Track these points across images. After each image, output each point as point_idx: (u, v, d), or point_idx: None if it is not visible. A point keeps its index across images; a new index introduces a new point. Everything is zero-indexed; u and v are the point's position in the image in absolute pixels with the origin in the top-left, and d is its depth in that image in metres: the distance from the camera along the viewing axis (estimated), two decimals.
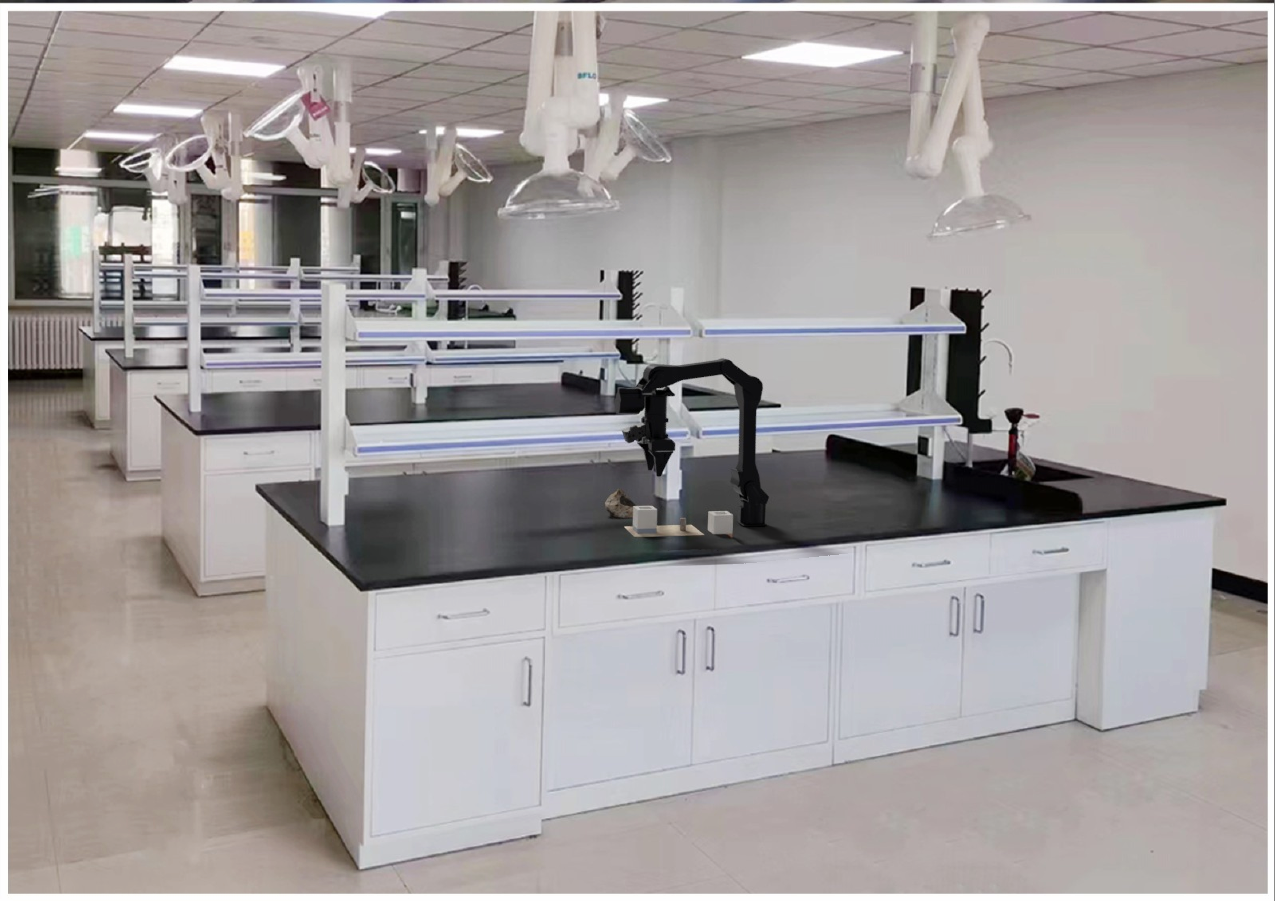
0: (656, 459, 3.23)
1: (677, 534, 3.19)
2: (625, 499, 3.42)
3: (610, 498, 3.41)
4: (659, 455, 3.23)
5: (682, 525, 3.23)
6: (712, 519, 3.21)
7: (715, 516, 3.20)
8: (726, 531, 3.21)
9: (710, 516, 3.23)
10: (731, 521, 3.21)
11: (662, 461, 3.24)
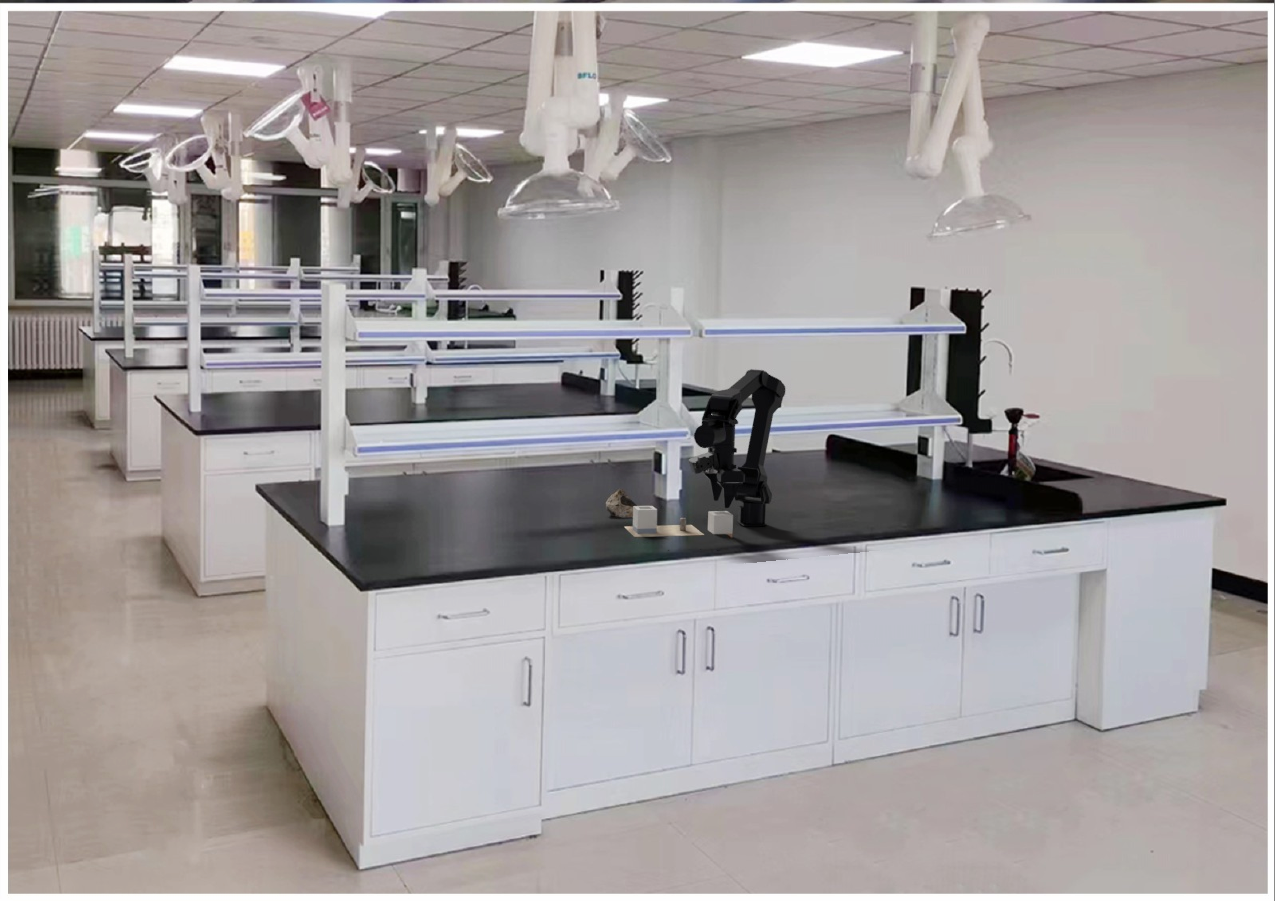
0: (725, 490, 3.15)
1: (677, 534, 3.19)
2: (626, 499, 3.42)
3: (611, 498, 3.41)
4: (728, 486, 3.16)
5: (682, 525, 3.23)
6: (712, 519, 3.21)
7: (715, 516, 3.20)
8: (726, 531, 3.21)
9: (710, 516, 3.23)
10: (731, 521, 3.21)
11: (731, 492, 3.16)
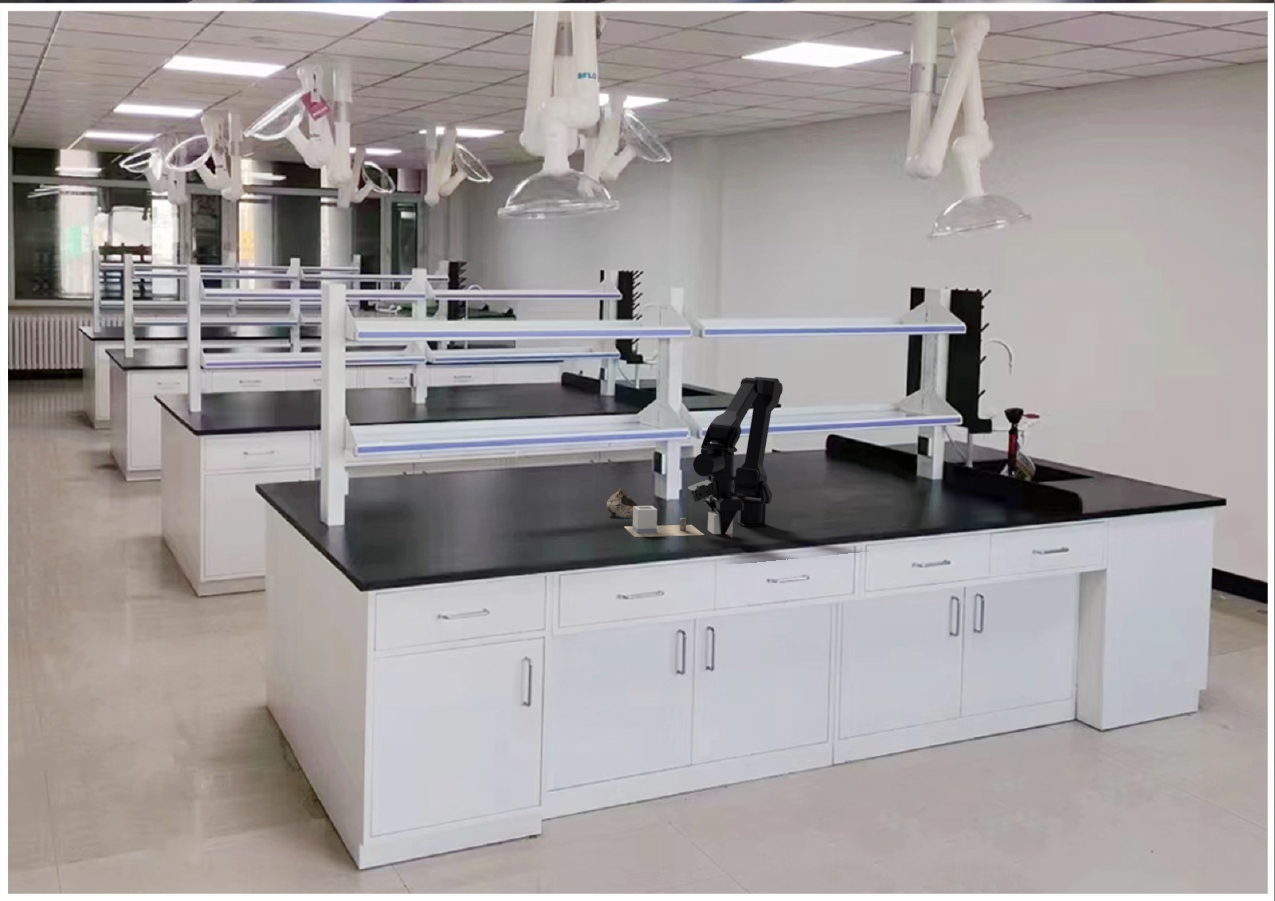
0: (721, 517, 3.18)
1: (677, 534, 3.19)
2: (627, 499, 3.42)
3: (612, 498, 3.41)
4: (724, 513, 3.19)
5: (682, 525, 3.23)
6: (712, 519, 3.21)
7: (715, 516, 3.20)
8: None
9: (710, 516, 3.23)
10: None
11: (727, 519, 3.19)
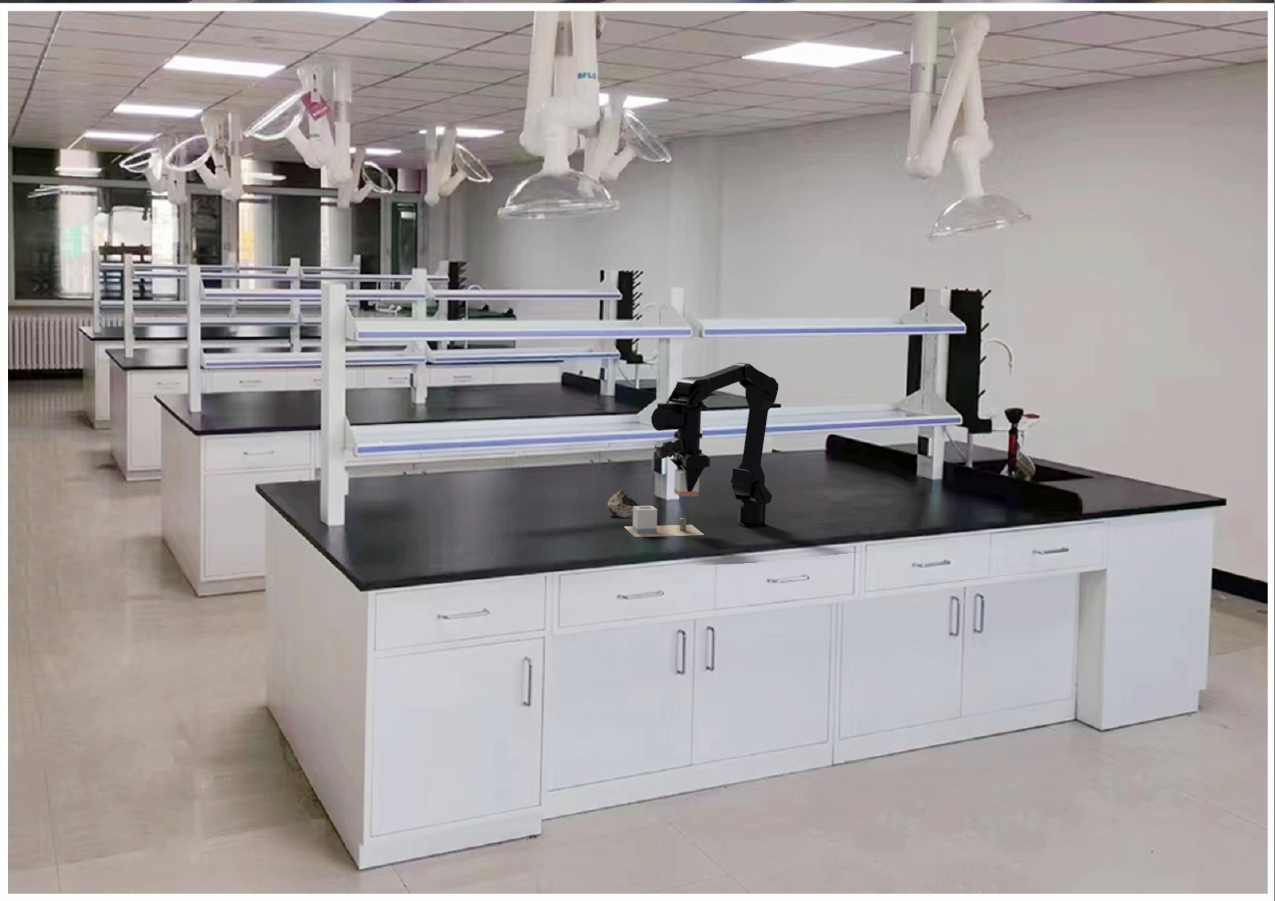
0: (688, 474, 3.17)
1: (677, 534, 3.19)
2: (628, 498, 3.42)
3: (613, 498, 3.42)
4: (691, 470, 3.18)
5: (682, 525, 3.23)
6: (678, 477, 3.20)
7: (681, 473, 3.19)
8: None
9: (677, 473, 3.21)
10: (698, 479, 3.20)
11: (693, 476, 3.18)
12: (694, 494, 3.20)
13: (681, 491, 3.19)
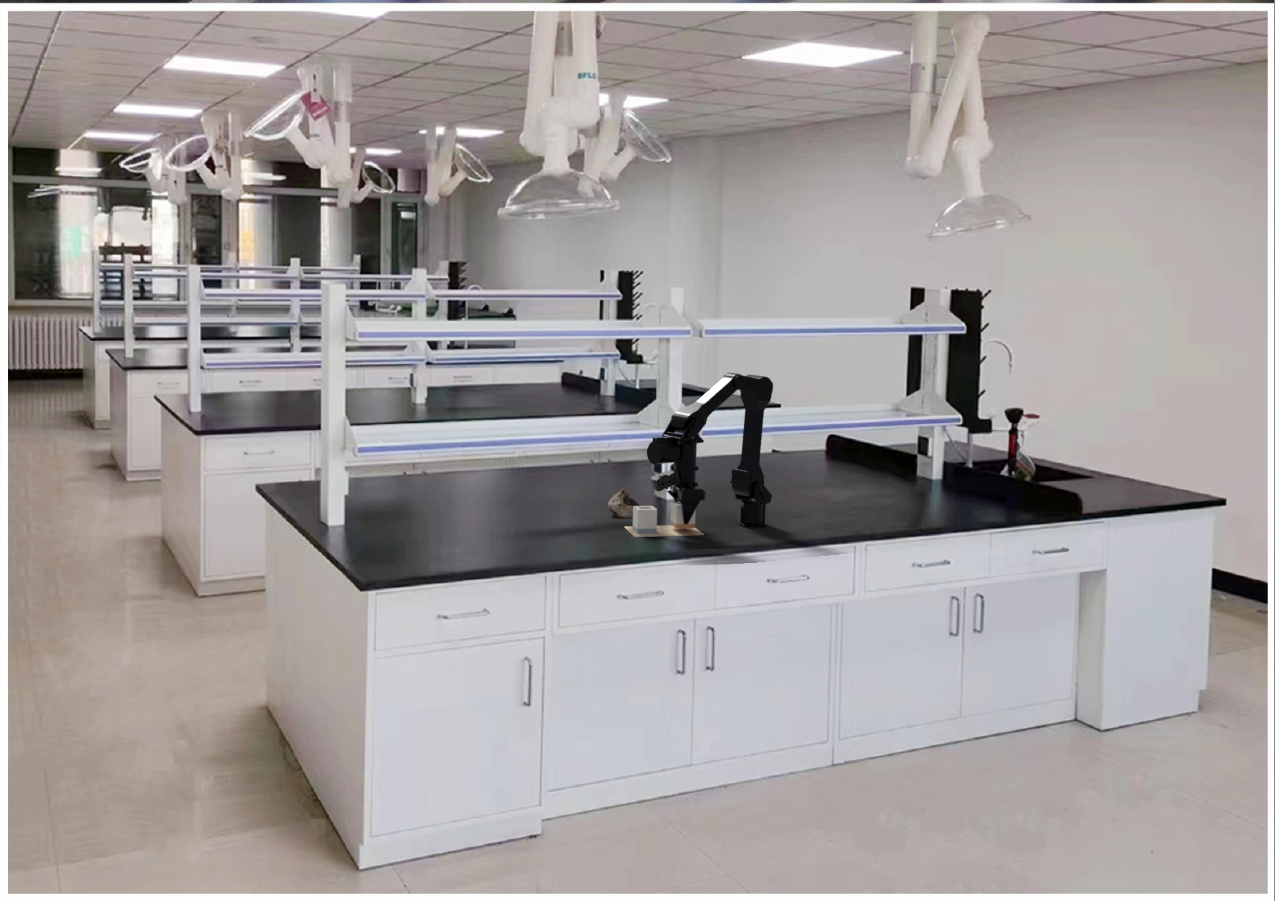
0: (684, 507, 3.19)
1: (677, 534, 3.19)
2: (629, 498, 3.42)
3: (614, 498, 3.42)
4: (687, 502, 3.19)
5: None
6: (674, 509, 3.22)
7: (678, 506, 3.20)
8: None
9: (673, 506, 3.23)
10: (694, 511, 3.21)
11: (690, 509, 3.20)
12: (690, 526, 3.22)
13: (677, 523, 3.21)
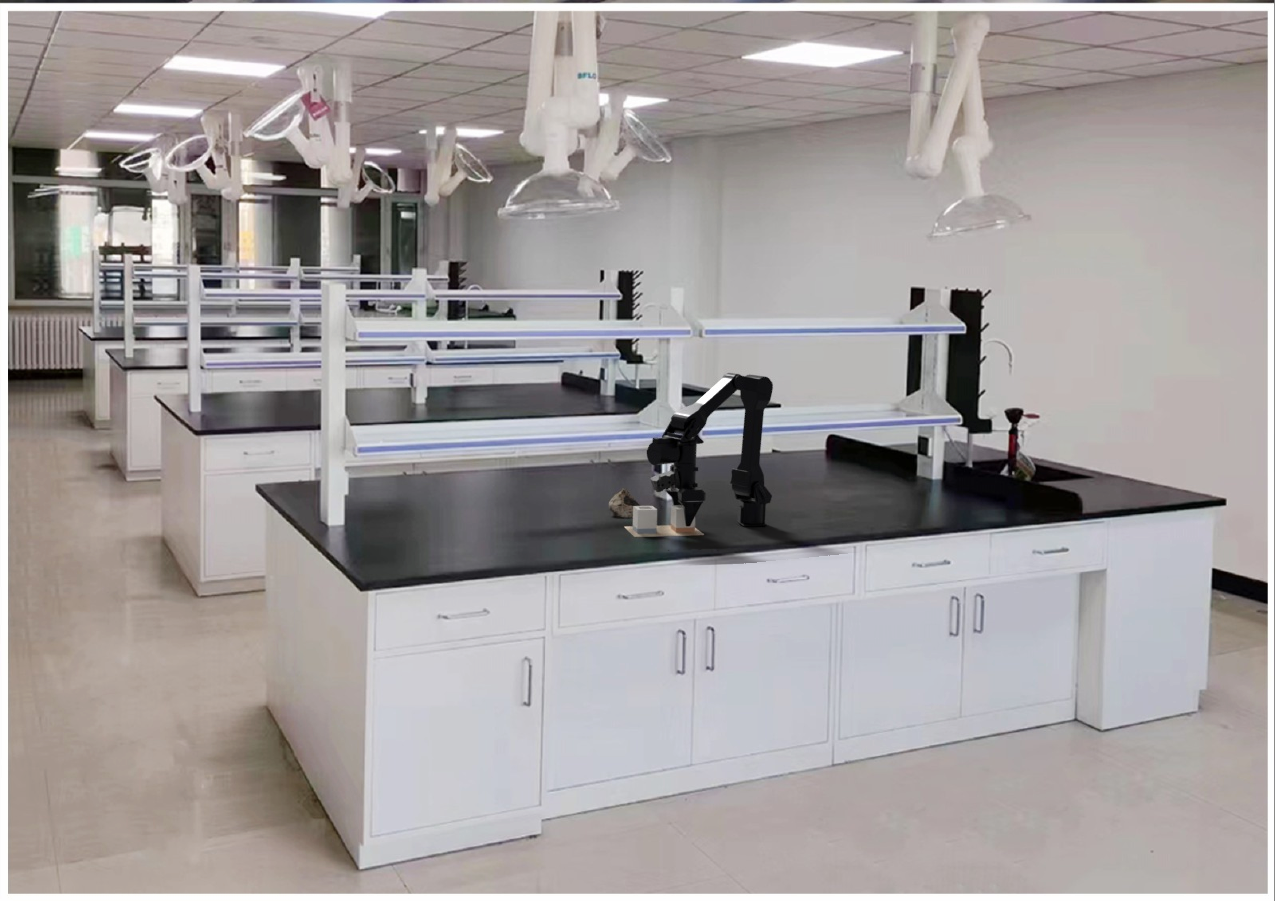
0: (686, 509, 3.17)
1: (677, 534, 3.19)
2: (629, 498, 3.42)
3: (614, 498, 3.42)
4: (689, 505, 3.17)
5: None
6: (674, 513, 3.22)
7: (677, 510, 3.20)
8: None
9: (673, 509, 3.23)
10: None
11: (692, 511, 3.18)
12: (690, 530, 3.22)
13: (677, 527, 3.21)
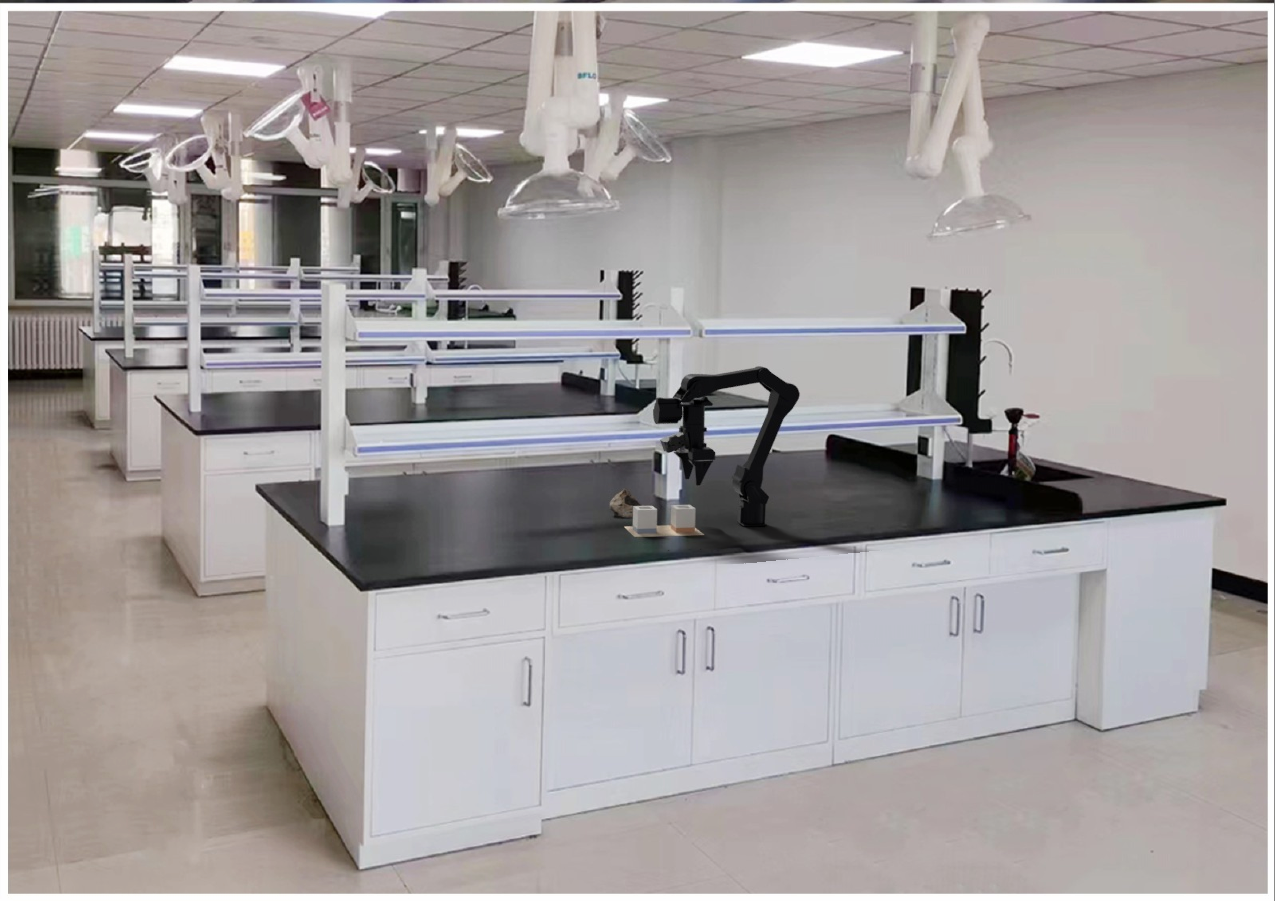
0: (696, 468, 3.26)
1: (677, 534, 3.19)
2: (630, 498, 3.42)
3: (615, 498, 3.42)
4: (699, 464, 3.26)
5: None
6: (674, 513, 3.22)
7: (677, 510, 3.20)
8: (688, 525, 3.22)
9: (673, 509, 3.23)
10: (694, 515, 3.22)
11: (702, 470, 3.27)
12: (690, 530, 3.22)
13: (677, 527, 3.21)
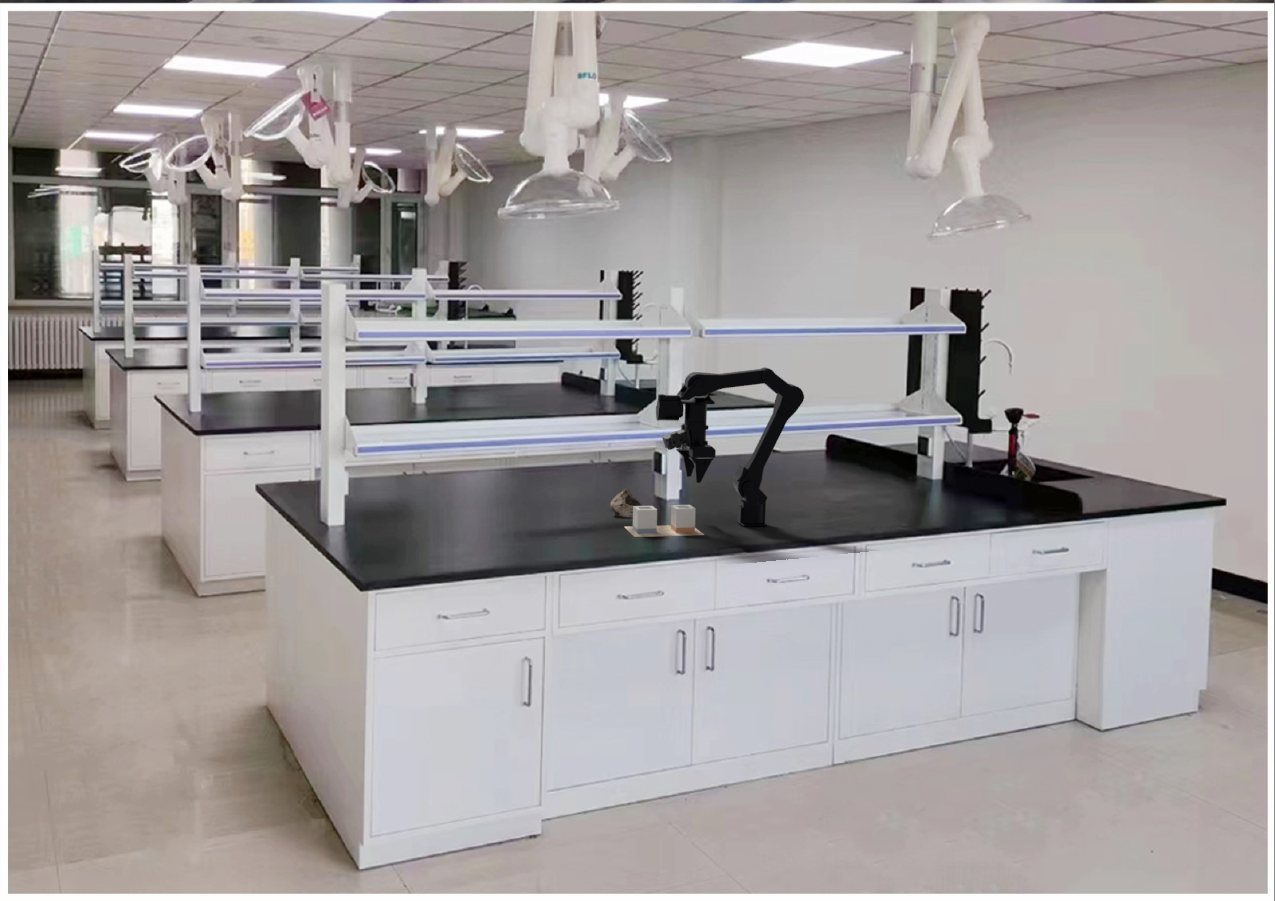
0: (696, 466, 3.28)
1: (677, 534, 3.19)
2: (631, 498, 3.42)
3: (616, 497, 3.42)
4: (699, 462, 3.29)
5: None
6: (674, 513, 3.22)
7: (677, 510, 3.20)
8: (688, 525, 3.22)
9: (673, 509, 3.23)
10: (694, 515, 3.22)
11: (702, 468, 3.29)
12: (690, 530, 3.22)
13: (677, 527, 3.21)
